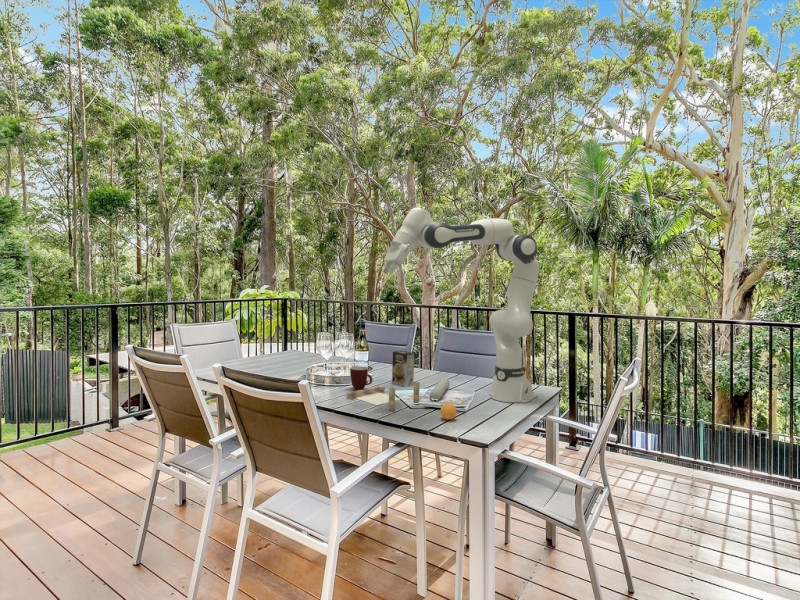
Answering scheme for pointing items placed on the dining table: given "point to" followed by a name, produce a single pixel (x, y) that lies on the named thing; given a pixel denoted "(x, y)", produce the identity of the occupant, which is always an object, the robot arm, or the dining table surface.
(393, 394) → the post
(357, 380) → the mug
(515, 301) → the robot arm
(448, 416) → the ball
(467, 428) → the dining table surface
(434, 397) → the tube
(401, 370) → the coffee box
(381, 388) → the stopper wall
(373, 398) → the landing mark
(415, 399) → the post
